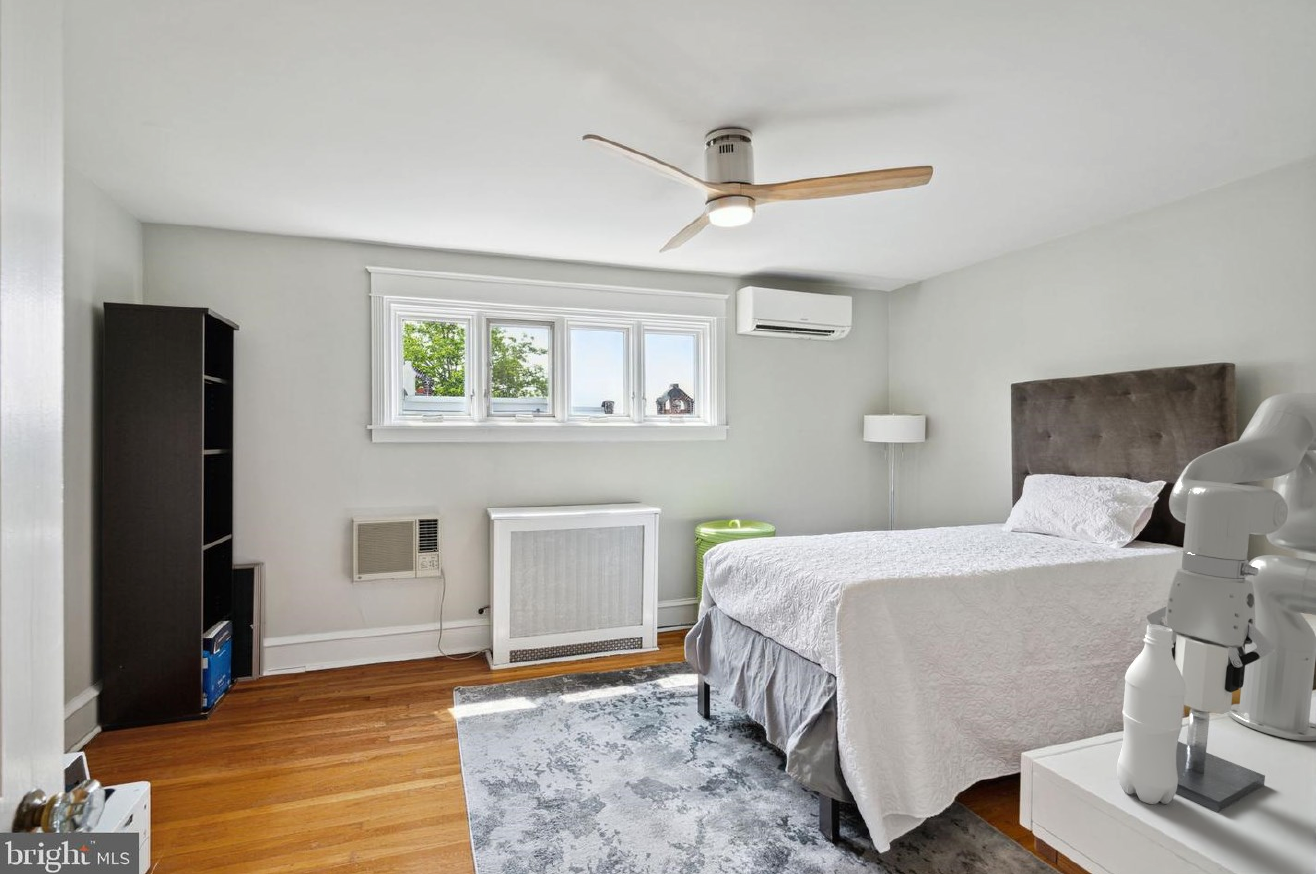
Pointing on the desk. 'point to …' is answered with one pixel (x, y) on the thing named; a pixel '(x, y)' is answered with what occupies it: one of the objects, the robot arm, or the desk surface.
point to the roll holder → (1210, 770)
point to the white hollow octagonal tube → (1203, 673)
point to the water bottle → (1152, 720)
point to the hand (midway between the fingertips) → (1202, 680)
